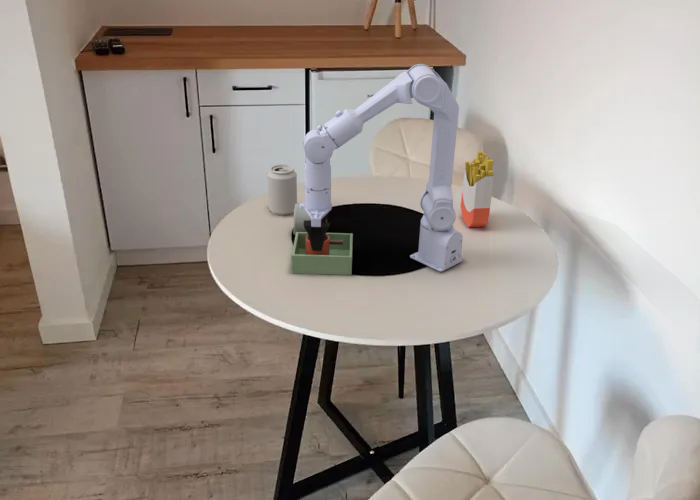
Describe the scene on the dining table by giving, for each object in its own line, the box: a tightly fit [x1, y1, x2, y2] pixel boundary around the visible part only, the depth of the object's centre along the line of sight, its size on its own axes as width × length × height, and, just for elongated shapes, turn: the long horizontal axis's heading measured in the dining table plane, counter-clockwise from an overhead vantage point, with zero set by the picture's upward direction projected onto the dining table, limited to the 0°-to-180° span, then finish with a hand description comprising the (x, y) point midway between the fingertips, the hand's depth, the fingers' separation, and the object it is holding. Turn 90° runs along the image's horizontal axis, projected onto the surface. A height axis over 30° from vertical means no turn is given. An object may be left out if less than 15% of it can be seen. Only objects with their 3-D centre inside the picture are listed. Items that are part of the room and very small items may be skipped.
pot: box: [306, 234, 343, 255], centre depth 154 cm, size 8×5×6 cm, turn 89°
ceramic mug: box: [293, 203, 328, 236], centre depth 167 cm, size 11×8×8 cm
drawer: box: [291, 232, 354, 276], centre depth 154 cm, size 13×12×4 cm
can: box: [267, 163, 298, 216], centre depth 177 cm, size 8×8×12 cm
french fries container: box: [460, 150, 495, 228], centre depth 172 cm, size 5×11×18 cm, turn 7°
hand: (318, 242), depth 153 cm, fingers open, 7 cm apart
